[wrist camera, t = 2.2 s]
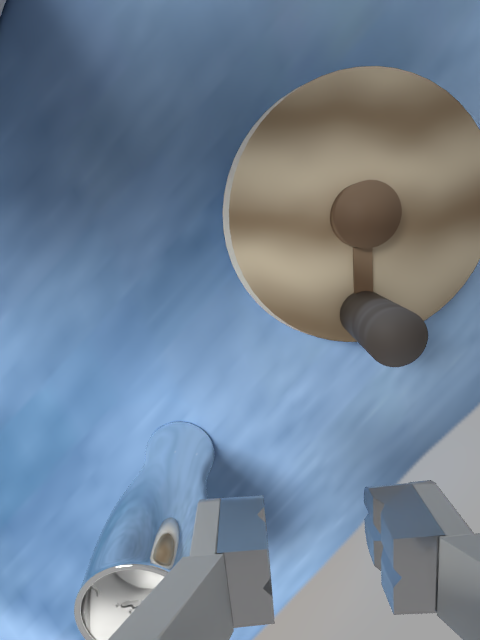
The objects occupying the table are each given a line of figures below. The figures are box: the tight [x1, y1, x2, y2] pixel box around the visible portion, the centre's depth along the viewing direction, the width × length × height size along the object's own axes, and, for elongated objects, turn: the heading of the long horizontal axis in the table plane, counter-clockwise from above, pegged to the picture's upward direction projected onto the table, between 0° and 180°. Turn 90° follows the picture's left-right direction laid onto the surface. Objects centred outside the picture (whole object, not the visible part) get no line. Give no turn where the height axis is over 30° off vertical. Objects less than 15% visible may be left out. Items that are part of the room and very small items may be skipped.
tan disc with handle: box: [229, 66, 480, 367], centre depth 23 cm, size 17×17×8 cm
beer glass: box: [74, 422, 215, 640], centre depth 27 cm, size 7×7×15 cm
